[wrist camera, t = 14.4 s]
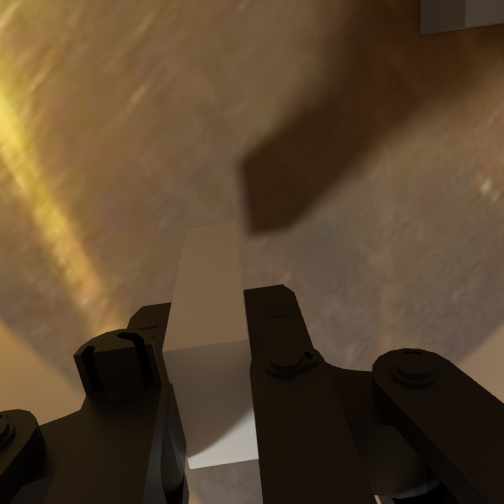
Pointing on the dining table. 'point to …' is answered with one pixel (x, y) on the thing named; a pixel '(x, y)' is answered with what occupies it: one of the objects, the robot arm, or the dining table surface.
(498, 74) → the dining table surface
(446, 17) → the tray
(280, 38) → the dining table surface
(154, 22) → the dining table surface
